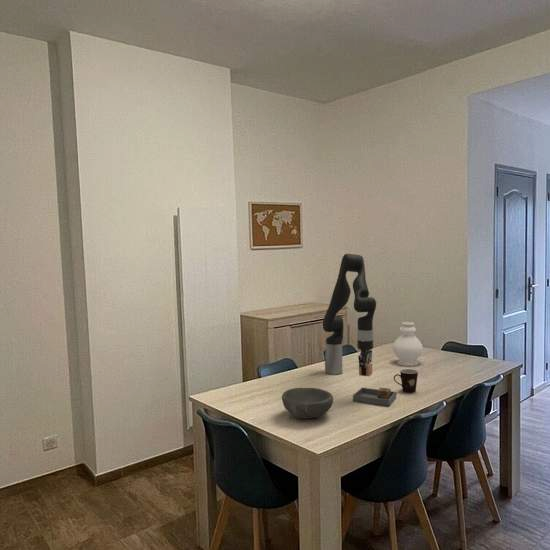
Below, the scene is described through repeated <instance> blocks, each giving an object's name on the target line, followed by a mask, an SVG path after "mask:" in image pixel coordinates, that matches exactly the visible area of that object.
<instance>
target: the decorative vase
mask: <svg viewBox="0 0 550 550" xmlns="http://www.w3.org/2000/svg"><path fill="white" fill-rule="evenodd" d="M401 325H402V326H400V328H399V331H400V333H401V335H399V336H398V337H397V338H396V340H395V341H394V343H393V345H392V351H393V353H394V354H395V356H396V357H397V358H398V359H399V360H398V361H397V362H396V363H397V364H398V365H400V366H406V367H413V366H417V365H419V362H418V361H417V360H418V359H419V358H420V357H421V356H422V355H423V351H424V348H423V344H422V342H421V341H420V339H419V338H418V337H417V336H416V335H415V334H414V333H415V332H416V331H417V330H416V327H415V326H414V325H415V323H414V322H413V321H402V322H401Z"/></svg>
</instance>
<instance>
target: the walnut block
mask: <svg viewBox="0 0 550 550" xmlns="http://www.w3.org/2000/svg"><path fill="white" fill-rule="evenodd" d="M391 391H392V390H391V388H387V387H379V388H378V389H377V398H380V399H387V400H388V399H389V398H390V397H391Z"/></svg>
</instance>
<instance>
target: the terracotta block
mask: <svg viewBox="0 0 550 550" xmlns="http://www.w3.org/2000/svg"><path fill="white" fill-rule="evenodd" d="M362 365H363V364H362ZM358 374H359V376H361V377H370V376H372V375H373V363H371V362H370V363H367V364H366V375H365V376H364V375H361V367H359V366H358Z"/></svg>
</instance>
